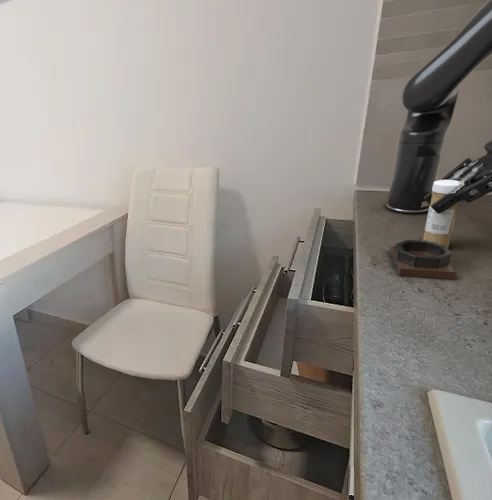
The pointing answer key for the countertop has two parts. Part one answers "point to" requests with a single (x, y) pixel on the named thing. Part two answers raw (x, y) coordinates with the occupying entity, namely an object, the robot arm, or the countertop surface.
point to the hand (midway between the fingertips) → (430, 205)
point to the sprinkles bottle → (441, 214)
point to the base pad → (422, 259)
